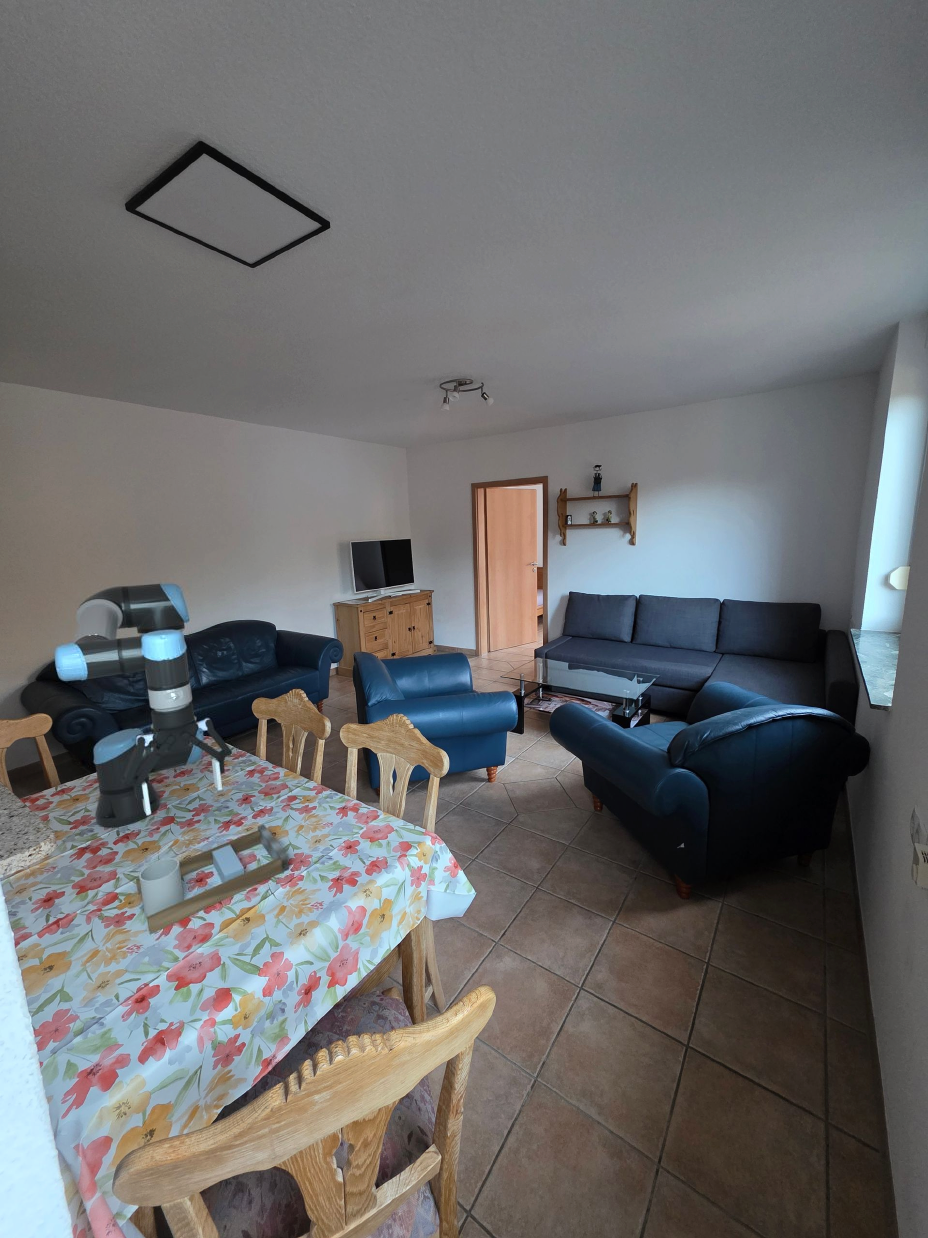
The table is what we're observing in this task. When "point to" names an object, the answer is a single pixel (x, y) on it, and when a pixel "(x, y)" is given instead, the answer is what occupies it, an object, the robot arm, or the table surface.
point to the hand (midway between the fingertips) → (184, 799)
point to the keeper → (227, 863)
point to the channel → (226, 888)
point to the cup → (161, 885)
